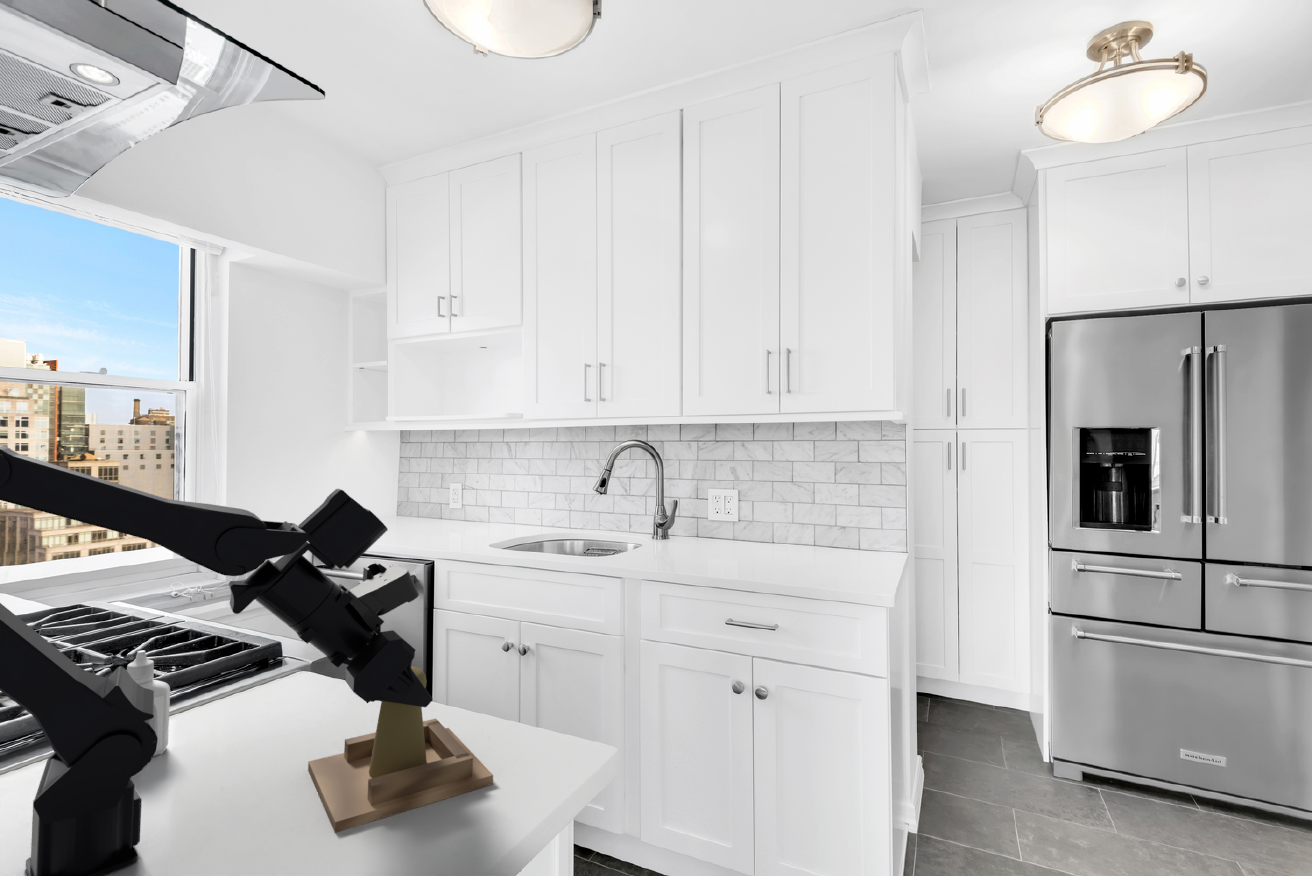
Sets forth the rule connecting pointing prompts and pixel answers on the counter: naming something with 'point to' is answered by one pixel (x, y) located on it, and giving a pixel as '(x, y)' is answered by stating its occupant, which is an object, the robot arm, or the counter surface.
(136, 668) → the eye dropper bottle
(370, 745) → the seat
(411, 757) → the olive pepper mill
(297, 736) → the counter surface
